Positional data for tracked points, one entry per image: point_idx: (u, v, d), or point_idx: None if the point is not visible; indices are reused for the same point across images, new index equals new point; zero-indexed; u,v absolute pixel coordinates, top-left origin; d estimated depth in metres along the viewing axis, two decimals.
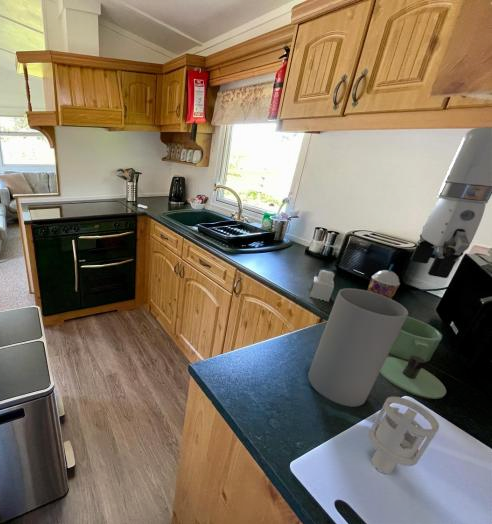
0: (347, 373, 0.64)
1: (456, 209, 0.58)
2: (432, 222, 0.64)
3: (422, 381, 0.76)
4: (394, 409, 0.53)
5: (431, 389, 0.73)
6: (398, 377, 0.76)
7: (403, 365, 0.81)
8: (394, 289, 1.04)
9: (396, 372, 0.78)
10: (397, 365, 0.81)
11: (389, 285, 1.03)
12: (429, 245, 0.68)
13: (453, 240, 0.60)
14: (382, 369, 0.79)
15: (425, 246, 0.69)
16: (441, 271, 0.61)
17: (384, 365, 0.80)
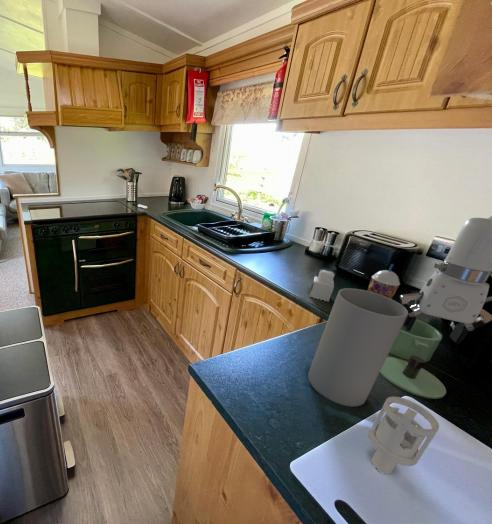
0: (347, 373, 0.64)
1: None
2: None
3: (422, 381, 0.76)
4: (394, 409, 0.53)
5: (431, 389, 0.73)
6: (398, 377, 0.76)
7: (403, 365, 0.81)
8: (394, 289, 1.04)
9: (396, 372, 0.78)
10: (397, 365, 0.81)
11: (389, 285, 1.03)
12: (463, 326, 0.69)
13: None
14: (382, 369, 0.79)
15: (460, 326, 0.70)
16: None
17: (384, 365, 0.80)
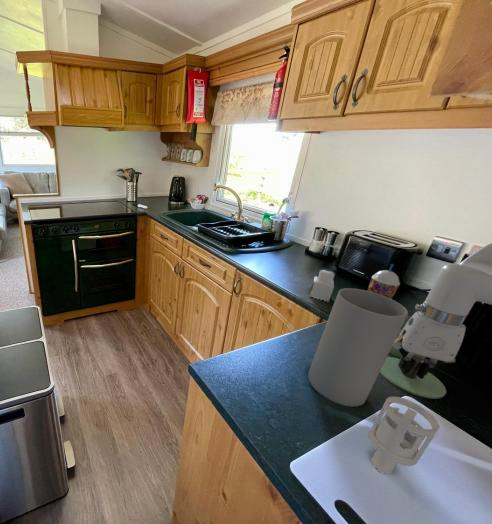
0: (347, 373, 0.64)
1: (412, 316, 0.74)
2: None
3: (422, 381, 0.76)
4: (394, 409, 0.53)
5: (431, 389, 0.73)
6: (398, 377, 0.76)
7: None
8: (394, 289, 1.04)
9: (396, 372, 0.78)
10: (397, 365, 0.81)
11: (389, 285, 1.03)
12: (425, 362, 0.75)
13: None
14: (382, 369, 0.79)
15: None
16: (399, 364, 0.78)
17: (384, 365, 0.80)
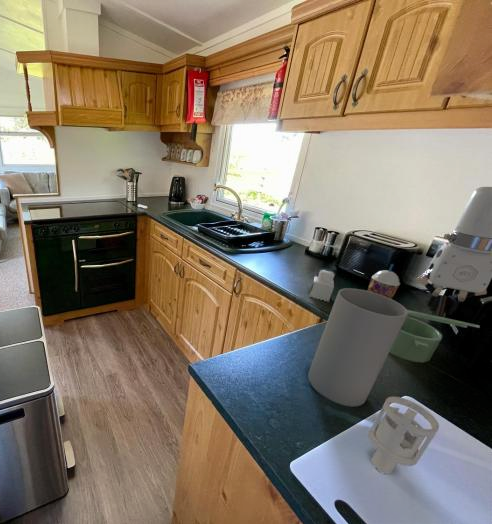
0: (347, 373, 0.64)
1: None
2: None
3: None
4: (394, 409, 0.53)
5: None
6: None
7: None
8: (394, 289, 1.04)
9: None
10: None
11: (389, 285, 1.03)
12: (454, 297, 0.71)
13: None
14: None
15: (452, 297, 0.72)
16: (426, 302, 0.74)
17: None
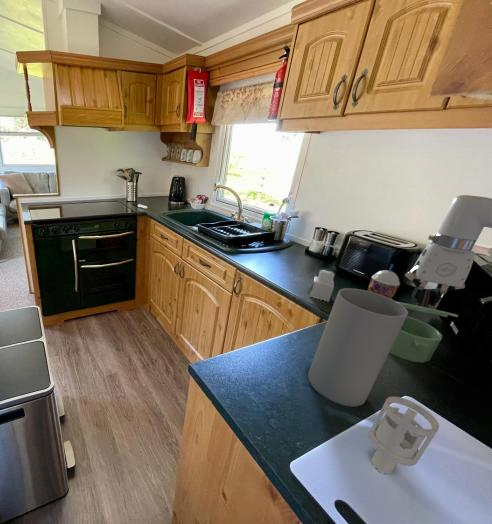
0: (347, 373, 0.64)
1: (425, 248, 0.81)
2: None
3: None
4: (394, 409, 0.53)
5: None
6: None
7: None
8: (394, 289, 1.04)
9: None
10: None
11: (389, 285, 1.03)
12: (437, 290, 0.82)
13: None
14: (399, 302, 0.84)
15: (435, 291, 0.82)
16: (413, 295, 0.85)
17: None
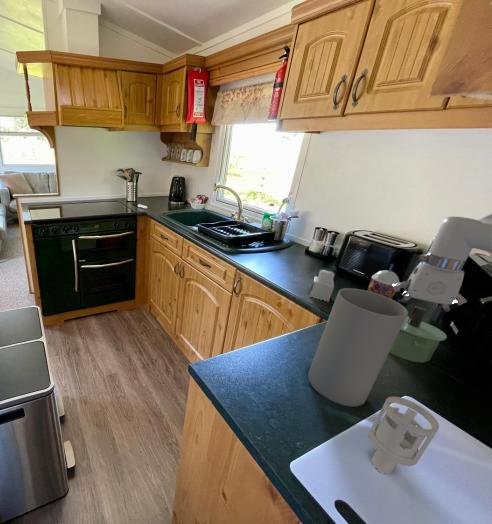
0: (347, 373, 0.64)
1: None
2: None
3: (425, 329, 0.84)
4: (394, 409, 0.53)
5: (434, 334, 0.81)
6: (405, 325, 0.84)
7: (406, 318, 0.90)
8: None
9: None
10: None
11: (389, 285, 1.03)
12: (441, 307, 0.82)
13: None
14: None
15: (439, 308, 0.83)
16: None
17: None
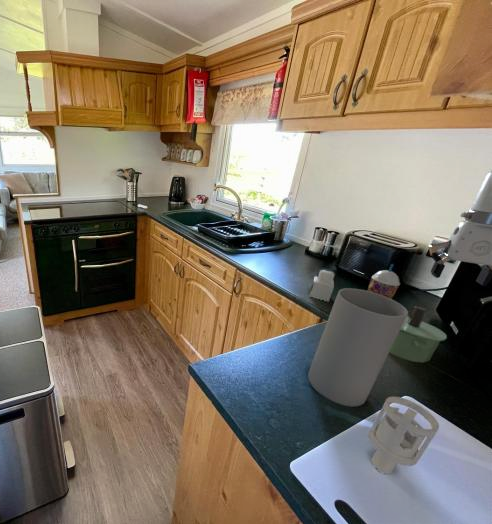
0: (347, 373, 0.64)
1: (457, 226, 0.78)
2: None
3: (425, 329, 0.84)
4: (394, 409, 0.53)
5: (434, 334, 0.81)
6: (405, 325, 0.84)
7: (406, 318, 0.90)
8: (394, 289, 1.04)
9: None
10: None
11: (389, 285, 1.03)
12: (489, 269, 0.76)
13: None
14: None
15: (486, 269, 0.77)
16: (432, 270, 0.81)
17: None
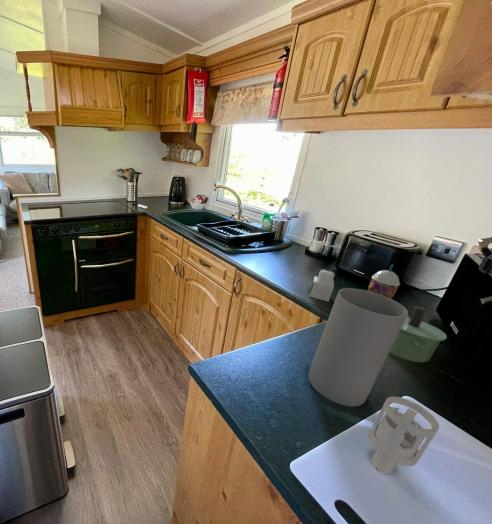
0: (347, 373, 0.64)
1: None
2: None
3: (425, 329, 0.84)
4: (394, 409, 0.53)
5: (434, 334, 0.81)
6: (405, 325, 0.84)
7: (406, 318, 0.90)
8: (394, 289, 1.04)
9: None
10: None
11: (389, 285, 1.03)
12: None
13: None
14: None
15: None
16: (481, 266, 0.77)
17: None
